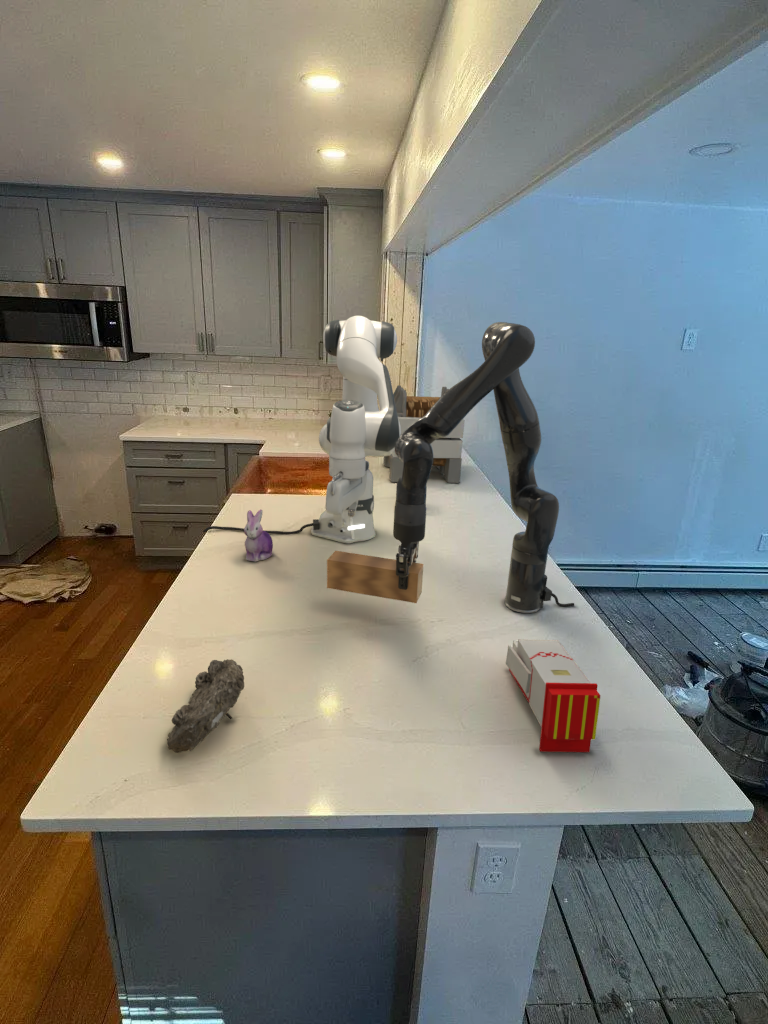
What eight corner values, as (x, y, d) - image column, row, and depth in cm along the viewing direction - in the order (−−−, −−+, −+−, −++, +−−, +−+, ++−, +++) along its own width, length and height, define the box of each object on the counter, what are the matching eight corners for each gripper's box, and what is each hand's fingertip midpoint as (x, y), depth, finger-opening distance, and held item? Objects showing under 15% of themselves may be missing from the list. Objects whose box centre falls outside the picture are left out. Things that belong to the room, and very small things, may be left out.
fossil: (192, 660, 117) (244, 628, 112) (224, 691, 120) (276, 661, 115) (142, 746, 98) (202, 712, 93) (182, 779, 101) (242, 748, 96)
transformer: (382, 463, 289) (386, 382, 275) (445, 464, 293) (451, 384, 279) (390, 482, 257) (394, 392, 243) (460, 483, 261) (468, 394, 247)
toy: (554, 622, 128) (610, 691, 98) (548, 677, 130) (601, 759, 101) (501, 621, 127) (541, 690, 98) (496, 676, 130) (534, 758, 101)
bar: (326, 588, 142) (326, 559, 140) (335, 578, 148) (335, 550, 145) (416, 603, 137) (418, 573, 134) (421, 592, 142) (423, 563, 139)
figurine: (248, 564, 171) (246, 518, 166) (239, 551, 179) (237, 507, 174) (278, 559, 175) (277, 514, 170) (269, 547, 183) (267, 503, 178)
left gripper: (344, 478, 129) (343, 535, 133) (371, 461, 148) (369, 511, 152) (319, 475, 131) (318, 532, 135) (348, 458, 150) (347, 508, 154)
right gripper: (418, 531, 126) (414, 598, 132) (431, 511, 139) (427, 573, 145) (386, 527, 128) (383, 593, 133) (401, 507, 141) (398, 568, 147)
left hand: (345, 521), depth 144 cm, fingers open, 8 cm apart
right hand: (406, 582), depth 139 cm, fingers closed on bar, 6 cm apart
